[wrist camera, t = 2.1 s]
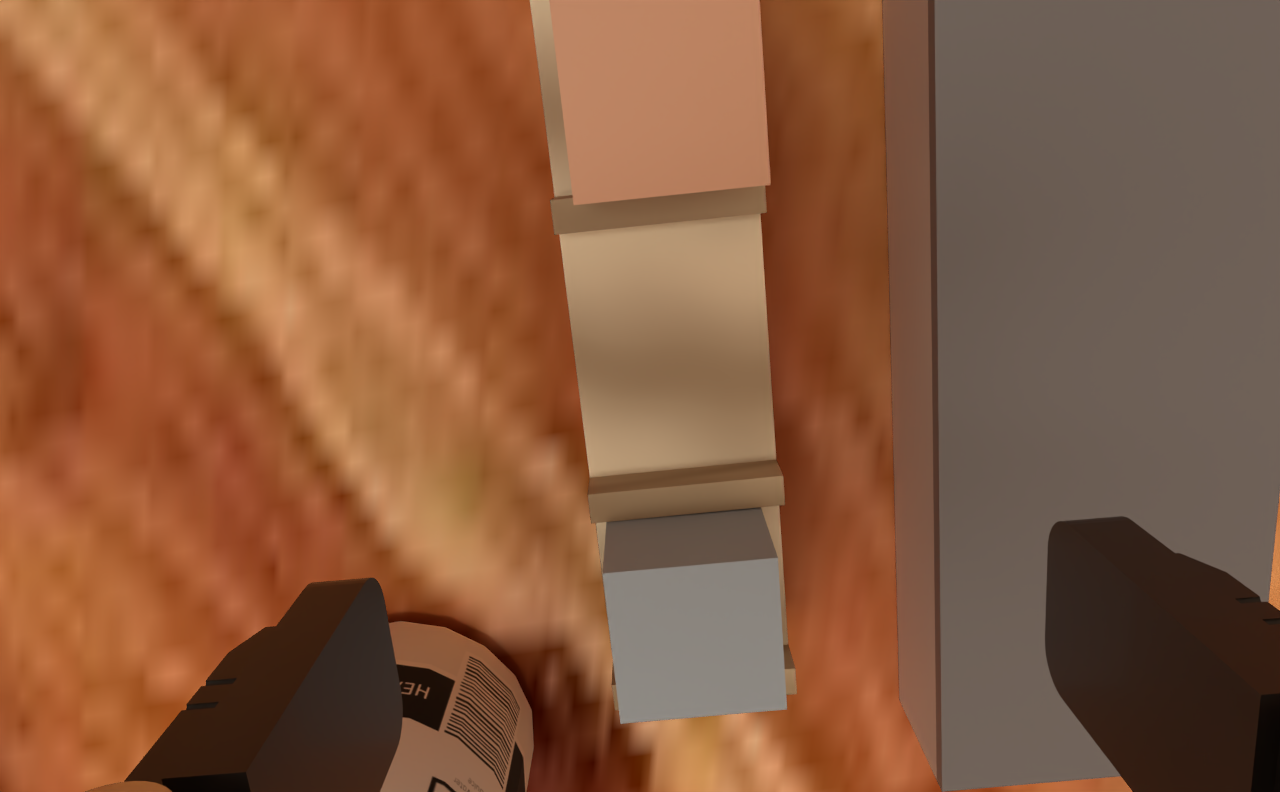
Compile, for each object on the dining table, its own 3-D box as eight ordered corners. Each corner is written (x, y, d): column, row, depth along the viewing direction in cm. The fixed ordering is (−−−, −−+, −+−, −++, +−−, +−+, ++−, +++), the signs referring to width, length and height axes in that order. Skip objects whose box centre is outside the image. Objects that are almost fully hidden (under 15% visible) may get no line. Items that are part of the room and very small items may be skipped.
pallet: (541, -32, 25) (514, -79, 19) (722, -53, 25) (746, -105, 19) (620, 614, 30) (616, 720, 25) (768, 600, 30) (797, 703, 25)
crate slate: (607, 504, 24) (602, 573, 21) (755, 491, 24) (777, 557, 21) (622, 635, 26) (620, 723, 22) (764, 622, 25) (786, 709, 22)
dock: (880, -72, 24) (933, -117, 20) (1218, -109, 24) (1346, -162, 20) (899, 699, 31) (941, 791, 27) (1165, 675, 31) (1251, 765, 26)
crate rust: (564, 18, 21) (548, -8, 17) (735, -1, 21) (757, -31, 17) (584, 193, 22) (573, 204, 18) (747, 176, 22) (770, 184, 18)
